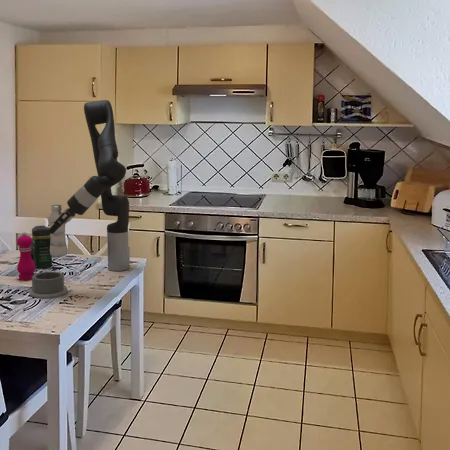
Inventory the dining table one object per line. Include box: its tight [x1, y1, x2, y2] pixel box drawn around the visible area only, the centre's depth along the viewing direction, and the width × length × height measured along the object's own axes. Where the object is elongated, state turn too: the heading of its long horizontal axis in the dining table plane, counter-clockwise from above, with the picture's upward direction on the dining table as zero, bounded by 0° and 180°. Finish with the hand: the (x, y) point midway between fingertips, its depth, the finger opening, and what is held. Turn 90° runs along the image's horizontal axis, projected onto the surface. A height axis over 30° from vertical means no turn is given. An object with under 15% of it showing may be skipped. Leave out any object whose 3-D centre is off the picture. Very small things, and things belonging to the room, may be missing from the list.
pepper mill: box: [16, 231, 36, 281], centre depth 228 cm, size 7×7×20 cm
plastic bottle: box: [47, 204, 69, 258], centre depth 209 cm, size 6×7×20 cm
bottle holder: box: [28, 271, 68, 299], centre depth 212 cm, size 14×14×7 cm
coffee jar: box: [31, 225, 53, 270], centre depth 246 cm, size 10×8×19 cm
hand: (53, 230), depth 208 cm, fingers closed on plastic bottle, 6 cm apart
